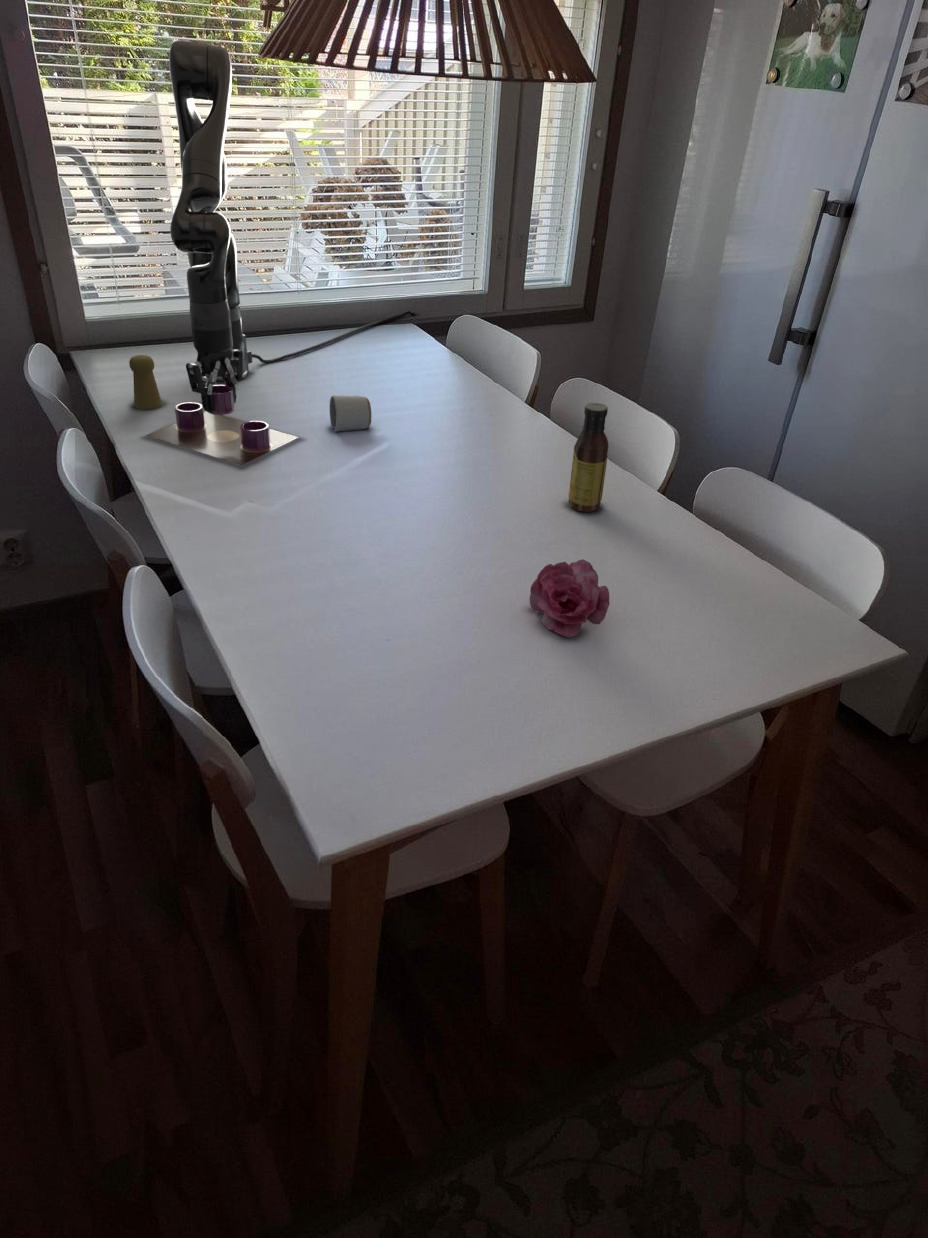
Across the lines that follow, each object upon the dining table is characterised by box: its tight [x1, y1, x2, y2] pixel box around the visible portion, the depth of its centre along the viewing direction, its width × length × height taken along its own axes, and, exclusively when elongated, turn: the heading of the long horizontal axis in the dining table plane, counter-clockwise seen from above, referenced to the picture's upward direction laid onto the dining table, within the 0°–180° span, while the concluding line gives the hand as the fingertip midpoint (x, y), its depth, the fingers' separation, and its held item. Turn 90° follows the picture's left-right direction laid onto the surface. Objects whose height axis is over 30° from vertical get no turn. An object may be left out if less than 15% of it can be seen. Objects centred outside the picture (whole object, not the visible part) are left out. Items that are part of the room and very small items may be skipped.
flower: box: [529, 559, 610, 638], centre depth 127 cm, size 11×10×10 cm
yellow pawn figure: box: [128, 354, 163, 410], centre depth 191 cm, size 6×6×11 cm
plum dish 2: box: [205, 384, 235, 416], centre depth 175 cm, size 6×6×4 cm
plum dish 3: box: [240, 420, 270, 451], centre depth 175 cm, size 6×6×4 cm
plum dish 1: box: [174, 401, 205, 432], centre depth 182 cm, size 6×6×4 cm
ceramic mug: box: [329, 394, 372, 432], centre depth 187 cm, size 11×8×8 cm
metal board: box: [145, 410, 300, 466], centre depth 180 cm, size 18×26×1 cm
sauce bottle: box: [568, 402, 609, 513], centre depth 157 cm, size 6×6×20 cm
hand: (220, 406), depth 176 cm, fingers closed on plum dish 2, 5 cm apart
